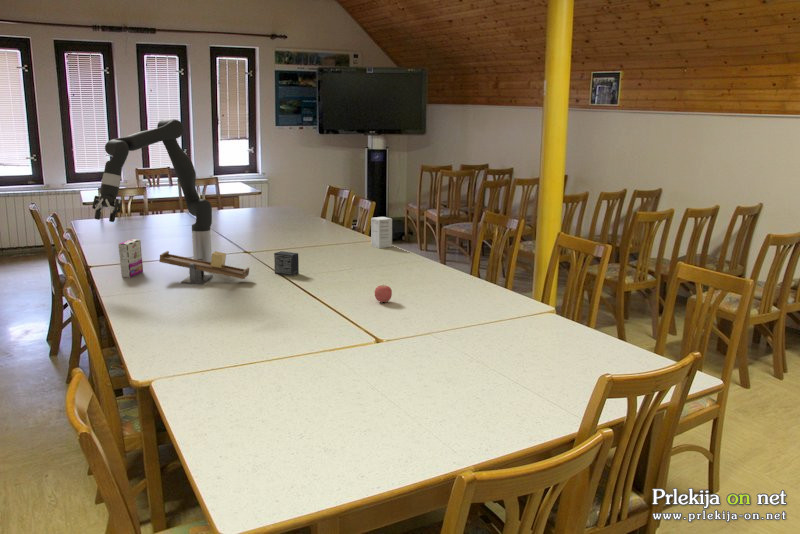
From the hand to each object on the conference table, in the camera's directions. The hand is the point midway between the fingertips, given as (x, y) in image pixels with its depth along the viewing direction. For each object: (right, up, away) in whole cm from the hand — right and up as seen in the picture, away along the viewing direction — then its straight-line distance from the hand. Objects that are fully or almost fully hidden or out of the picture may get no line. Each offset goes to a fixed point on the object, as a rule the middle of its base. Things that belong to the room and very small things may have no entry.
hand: (104, 220), depth 302 cm
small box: (+76, -24, +33) cm, 86 cm away
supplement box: (+120, -8, +100) cm, 156 cm away
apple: (+124, -36, -11) cm, 130 cm away
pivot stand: (+36, -27, +17) cm, 48 cm away
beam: (+40, -21, +16) cm, 48 cm away
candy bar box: (+3, -25, +25) cm, 35 cm away
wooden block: (+46, -21, +15) cm, 53 cm away
